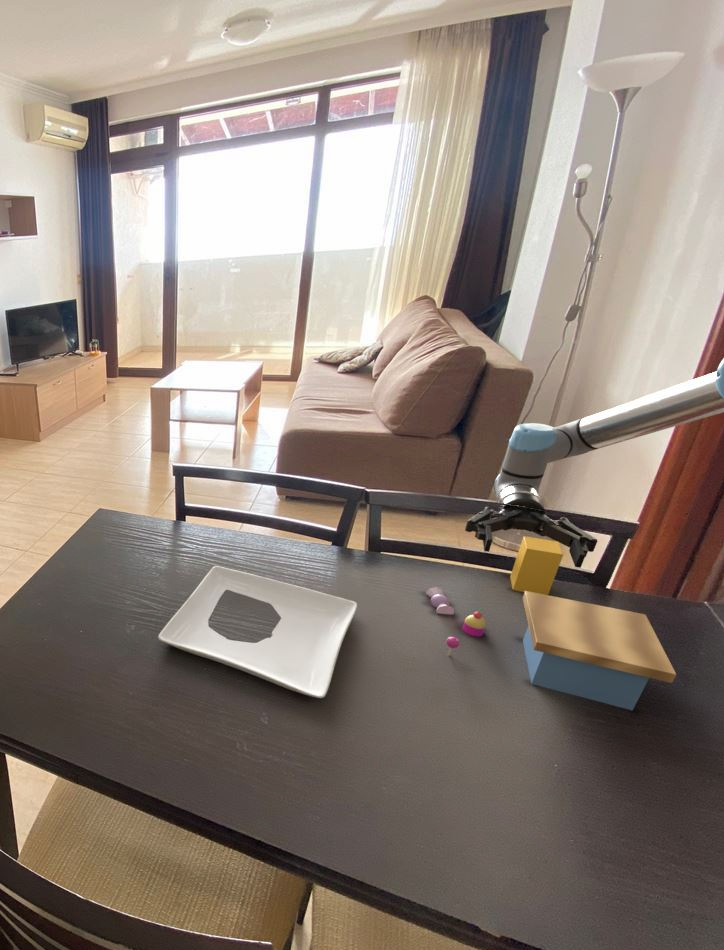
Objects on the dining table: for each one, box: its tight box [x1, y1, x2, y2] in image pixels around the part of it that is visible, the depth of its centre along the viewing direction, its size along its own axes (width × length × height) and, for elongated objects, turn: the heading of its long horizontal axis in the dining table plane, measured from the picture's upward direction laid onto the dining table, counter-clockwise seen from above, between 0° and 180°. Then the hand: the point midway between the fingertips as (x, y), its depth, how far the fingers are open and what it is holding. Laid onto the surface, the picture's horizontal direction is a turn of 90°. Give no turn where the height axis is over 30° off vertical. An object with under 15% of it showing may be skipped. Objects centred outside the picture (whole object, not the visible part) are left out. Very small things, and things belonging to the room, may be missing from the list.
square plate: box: [157, 565, 358, 699], centre depth 96 cm, size 27×27×4 cm
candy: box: [425, 586, 487, 656], centre depth 93 cm, size 18×8×6 cm, turn 164°
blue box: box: [522, 625, 650, 711], centre depth 81 cm, size 11×11×8 cm
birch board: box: [522, 591, 677, 684], centre depth 79 cm, size 14×14×2 cm
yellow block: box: [509, 535, 564, 595], centre depth 100 cm, size 5×5×10 cm
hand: (532, 553), depth 103 cm, fingers open, 13 cm apart
